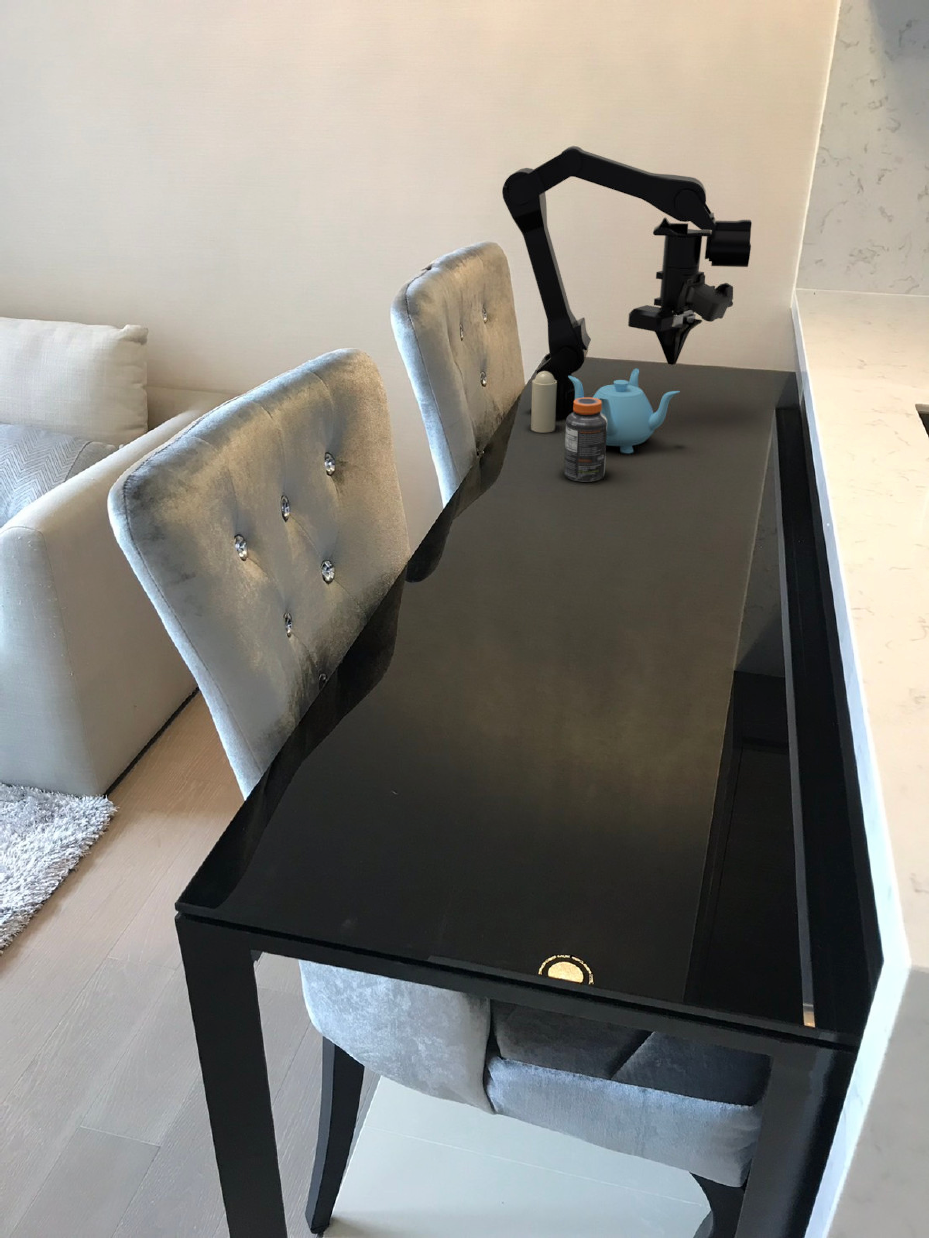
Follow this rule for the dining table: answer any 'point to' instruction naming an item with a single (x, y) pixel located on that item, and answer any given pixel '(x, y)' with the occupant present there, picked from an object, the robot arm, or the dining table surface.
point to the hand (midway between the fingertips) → (671, 364)
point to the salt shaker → (543, 402)
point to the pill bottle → (585, 441)
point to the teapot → (627, 411)
